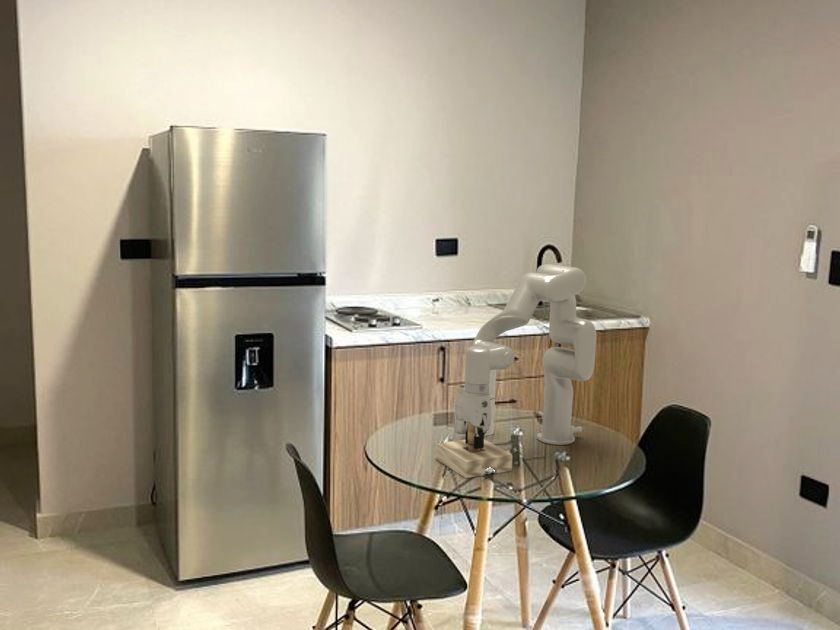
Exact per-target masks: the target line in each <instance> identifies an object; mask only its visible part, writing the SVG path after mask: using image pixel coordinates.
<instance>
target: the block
mask: <svg viewBox="0 0 840 630" xmlns="http://www.w3.org/2000/svg"><path fill="white" fill-rule="evenodd" d="M435 460H437V461H439V462H441V463H442V464H444V465H445V466H446V467H448V468H449V469H451V470H453V471H454V472H455V473H457V474H459V475H460V476H462V477H463V478H465V479H468V478H469V479H470V478H475V477H481V476H484V475H483V472H484V471H485V469H487V468H489V467H491V468H493V469H494V470H495V474H500V473H501V474H502V473H508V472H512V471H513V470H512V468H513V454H511V453H509V452H508V451H506V450H505V449H502V448H501V447H499V446H498V445H495V444H494V443H491V442H490V441H488V440H486V439H484V447H483V448H480V452H474V453H470V452H468V444H466V443H465V440H460V441H453V440H452V441H446V442H440V443H437V444H436V459H435Z"/></svg>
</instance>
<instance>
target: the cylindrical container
mask: <svg viewBox="0 0 840 630" xmlns="http://www.w3.org/2000/svg"><path fill="white" fill-rule="evenodd" d="M496 381H497V370H490V384H489V394H490V401H491V425H490V426H489V431H487V432H486V433H485V436H484V437H486V436H491V435H493V434H494V425H495V424H494V423H495V406H496V403H495V402H496V384H497V382H496Z"/></svg>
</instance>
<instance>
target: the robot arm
mask: <svg viewBox="0 0 840 630" xmlns="http://www.w3.org/2000/svg"><path fill="white" fill-rule="evenodd" d="M586 283H587V277H586V274H585V272H584V271H583V270H582V269H580V268H579V267H575V266H573V267H572V266H566V265H559V264H551V263H548V264H547V263H545V264H542V265H539V266H538V268H537V269H536V272H527V273H525V274H523V275H522V277H520V279H519V281H518V282H517V284H516V287H515V289H514V291H513V293H512V294H511V296H510V297H509V300H508V301H507V303H506V306H505V307H504V309H503V310H502V311H500V312H499V313H498V314H496V315H494V316H493V317H492V318H490V319H489V320H488V321H487V322H485V323H484V324H483V325H482V327H480V329H479V330H478V332H477V334H476V336H475V337H474V339H473V341H472V344H471V346H470V347H468V348H467V349H466V351H465V359H464V360H465V365H464V366H465V367H464V384H463V385H464V397H463V406H462V419H463V421H464V424H465V431H466V438H465V443H466V444H467V441H468V421H469V422H471V424H472V425H474V426H475V434H476V436H474V449H480V448H483V447H484V440H485V437H486V436H485V433H486V432H487V431H489V426H490V425H491V401H490V394H489V384H490V370H496V371H501V370H502V371H503V370H507V369H508V368H510V367H512V365H513V363H514V361H515V352H514V351H513V349H512V348H511V347H509V346H507V345H504V344H499V343H496V342H494V341H495V340H496V338H498V337H499V336H500V335H501V334H503V333H505V332H508V331H509V332H510V331H511V330H514V329H518V328H521V327H524V326H526V325H528V323H529V322H530V321H531V318H532V316H533V314H534V313H535V310H536V309H537V307H538V305H539V303H540V302H544V303H545V302H547V303H550V304H549V306H550V308H549V311H550V312H549V325H548V330H549V331H548V334H549V338H550V340H551V341H553V342H554V343H556V344H559V345H564V346H569V347H573V348H574V349H572V348H567V347H563V346H553V347H549V348H548V349H547V350H545V352H544V355H543V357H542V366H543V367H542V369H543V374H544V375H543V376H544V389H543V390H544V391H543V408H542V423H541V424H542V425H541V431H540V432H538V433H537V434H536V439H537V440H538V441H540V442H542V443H545V444H547V445H548V444H550V445H555V446H557V445H559V446H560V445H561V446H562V445H563V446H564V445H570V444H573V443H575V440H576V438H575V435H574V434H575V433H581V432H582V431H583V427H582V426H574V425H572V416H573V415H572V414H573V413H572V411H573V399H574V387H573V383H572V380H574V381H578V382H586V381H589V379H591V377H592V376H593V374H594V370H595V365H596V364H595V363H596V347H597V330H596V327H595V325H594V323H593V322H592V321H591V320H588V319H586V318H580V317H577V299H576V296H577V295H579V294H580V293H581V292H582V291H583V290H584V288H585V287H586ZM480 424H482V425H480ZM479 428H481V429H480V430H479Z"/></svg>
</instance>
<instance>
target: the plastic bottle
mask: <svg viewBox="0 0 840 630" xmlns="http://www.w3.org/2000/svg"><path fill="white" fill-rule="evenodd" d="M458 392H459V393H458V394H457V396H455V399H454V401H453V402H454V413H455V417H454V418H455V420H454V421H455V423H454V430H453V433H452V434H453V435H452V441H460V440H465V438H466V431H465V424H464V421H463V419H462V406H463V397H464V384H461V385H459V387H458Z"/></svg>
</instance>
